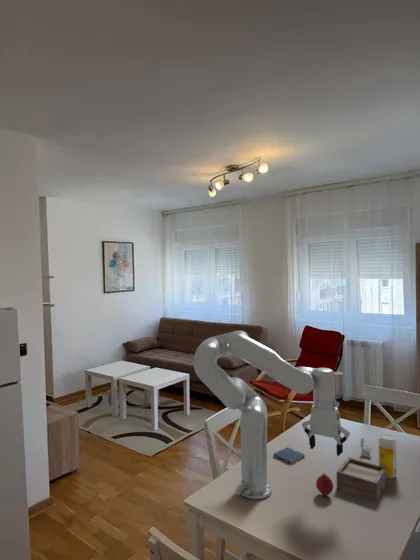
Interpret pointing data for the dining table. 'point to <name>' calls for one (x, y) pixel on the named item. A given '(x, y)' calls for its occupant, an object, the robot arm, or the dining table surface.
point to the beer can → (388, 454)
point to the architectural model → (365, 449)
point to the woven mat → (288, 456)
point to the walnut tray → (361, 478)
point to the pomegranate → (324, 484)
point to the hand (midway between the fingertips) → (325, 450)
